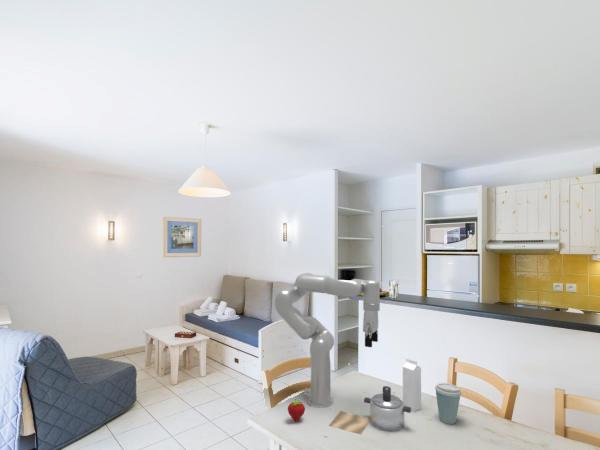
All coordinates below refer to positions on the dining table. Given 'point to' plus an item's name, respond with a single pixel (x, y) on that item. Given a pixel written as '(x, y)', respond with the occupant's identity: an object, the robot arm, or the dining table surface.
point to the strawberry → (296, 410)
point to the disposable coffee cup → (447, 402)
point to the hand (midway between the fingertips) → (371, 344)
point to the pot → (387, 416)
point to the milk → (412, 385)
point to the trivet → (350, 422)
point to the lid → (386, 399)
